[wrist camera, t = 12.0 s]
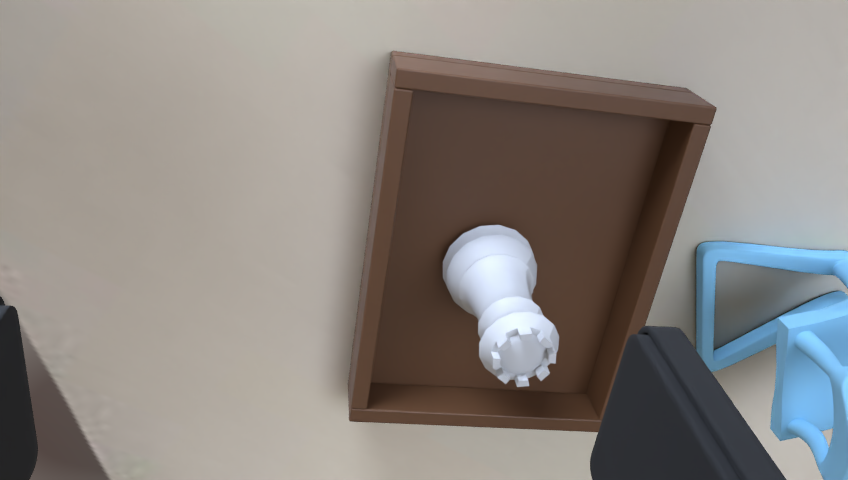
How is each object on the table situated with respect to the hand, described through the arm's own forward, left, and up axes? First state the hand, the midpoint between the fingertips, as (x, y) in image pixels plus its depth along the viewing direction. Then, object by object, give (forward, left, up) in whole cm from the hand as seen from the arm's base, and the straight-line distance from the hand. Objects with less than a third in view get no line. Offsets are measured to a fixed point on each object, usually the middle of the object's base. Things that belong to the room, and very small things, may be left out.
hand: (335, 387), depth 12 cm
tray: (+8, +9, -22) cm, 26 cm away
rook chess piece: (+9, +8, -22) cm, 25 cm away
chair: (+10, +24, -23) cm, 34 cm away
